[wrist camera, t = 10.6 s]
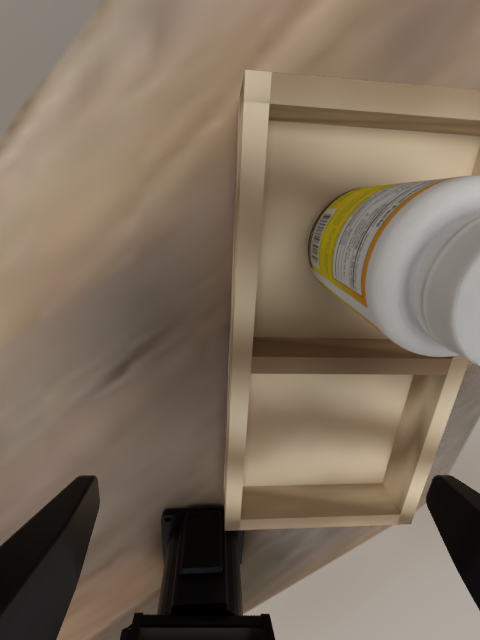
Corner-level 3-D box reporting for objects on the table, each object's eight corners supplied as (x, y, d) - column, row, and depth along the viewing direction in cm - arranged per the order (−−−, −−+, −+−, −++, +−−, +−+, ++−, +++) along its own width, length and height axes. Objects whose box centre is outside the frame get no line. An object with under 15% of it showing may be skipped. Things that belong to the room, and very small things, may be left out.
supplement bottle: (416, 264, 17) (661, 345, 8) (324, 308, 18) (446, 433, 8) (389, 165, 15) (673, 107, 6) (287, 218, 16) (391, 245, 6)
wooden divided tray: (385, 481, 25) (410, 524, 21) (223, 485, 24) (224, 530, 20) (491, 119, 16) (563, 97, 12) (238, 99, 15) (245, 69, 11)
